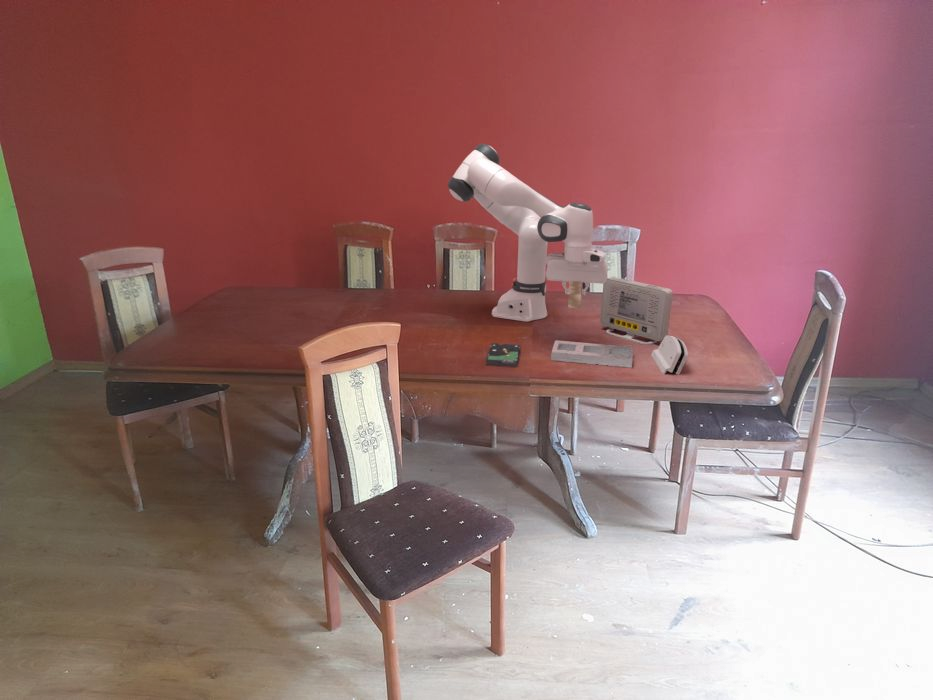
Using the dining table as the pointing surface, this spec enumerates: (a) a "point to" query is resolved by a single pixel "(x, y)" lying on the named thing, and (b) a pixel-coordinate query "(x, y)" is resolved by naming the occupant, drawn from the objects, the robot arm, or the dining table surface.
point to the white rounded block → (670, 355)
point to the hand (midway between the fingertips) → (575, 294)
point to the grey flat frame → (592, 353)
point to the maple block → (575, 294)
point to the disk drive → (503, 355)
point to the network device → (636, 309)
